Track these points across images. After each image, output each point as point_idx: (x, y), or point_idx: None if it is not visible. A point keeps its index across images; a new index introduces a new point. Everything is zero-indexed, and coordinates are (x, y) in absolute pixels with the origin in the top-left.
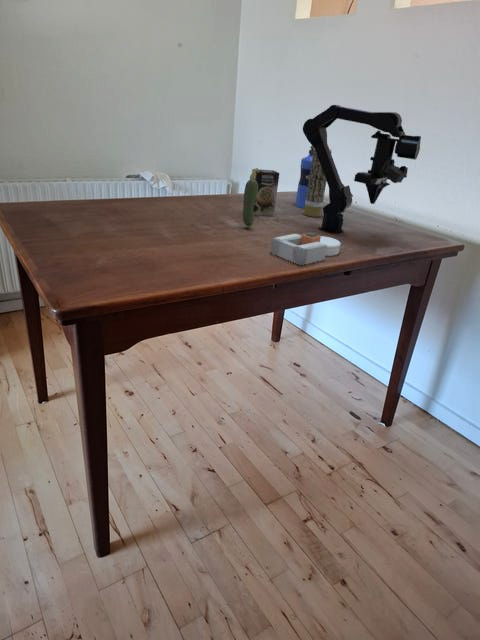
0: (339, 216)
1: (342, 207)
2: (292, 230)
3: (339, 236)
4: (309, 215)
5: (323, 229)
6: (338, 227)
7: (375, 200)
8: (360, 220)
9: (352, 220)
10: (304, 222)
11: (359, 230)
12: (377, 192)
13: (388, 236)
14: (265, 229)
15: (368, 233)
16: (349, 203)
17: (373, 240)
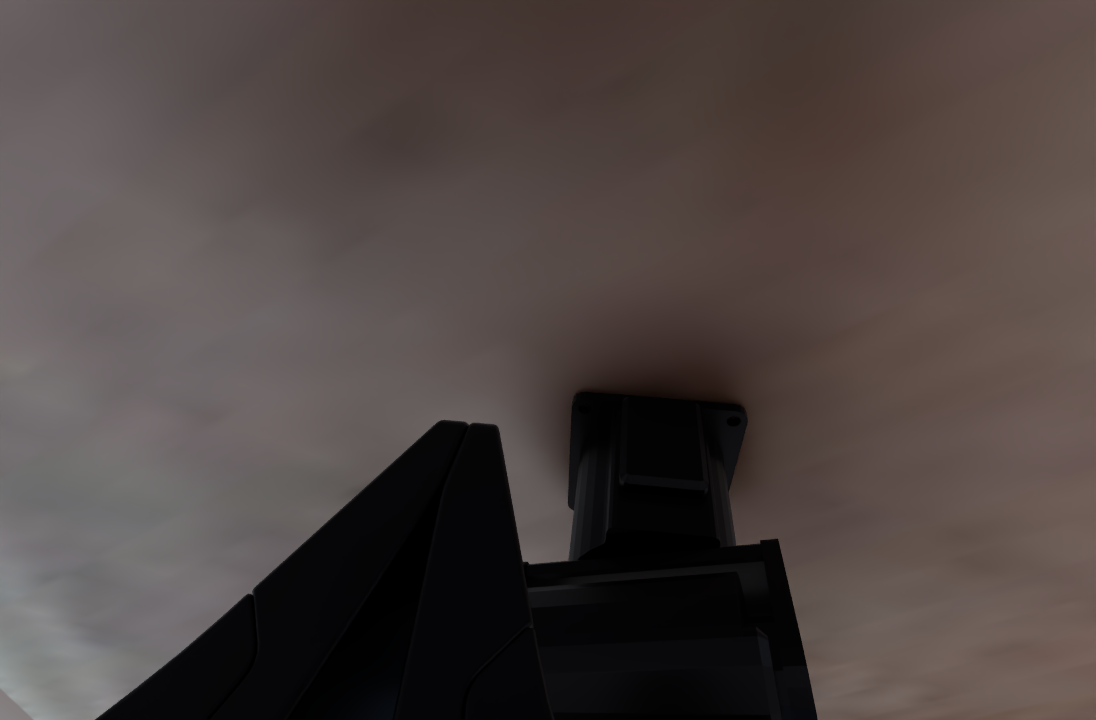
0: (685, 525)
1: (743, 614)
2: (946, 578)
3: (763, 330)
4: None
5: (729, 484)
6: (687, 426)
7: (426, 468)
8: (126, 468)
9: (203, 494)
10: None
11: (367, 337)
12: (418, 691)
13: (178, 46)
14: (1088, 657)
15: (351, 239)
16: (601, 638)
17: (530, 43)
